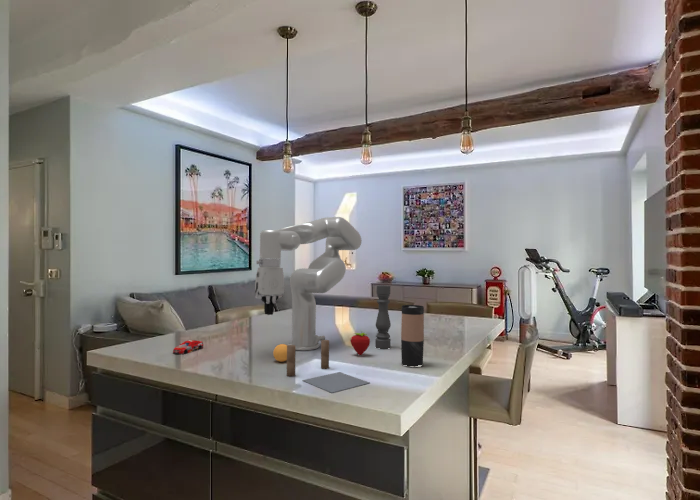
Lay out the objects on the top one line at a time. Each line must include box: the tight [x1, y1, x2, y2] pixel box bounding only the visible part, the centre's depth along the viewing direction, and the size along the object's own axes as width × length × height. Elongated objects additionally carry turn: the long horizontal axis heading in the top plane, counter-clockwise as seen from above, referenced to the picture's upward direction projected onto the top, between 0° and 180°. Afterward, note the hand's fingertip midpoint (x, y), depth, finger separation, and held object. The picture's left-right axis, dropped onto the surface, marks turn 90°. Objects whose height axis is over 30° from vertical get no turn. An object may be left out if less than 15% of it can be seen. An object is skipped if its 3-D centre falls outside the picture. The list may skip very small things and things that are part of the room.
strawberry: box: [350, 332, 371, 356], centre depth 154 cm, size 6×8×10 cm
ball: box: [272, 343, 288, 363], centre depth 144 cm, size 6×6×6 cm
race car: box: [172, 339, 204, 355], centre depth 158 cm, size 13×5×4 cm, turn 159°
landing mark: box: [302, 371, 371, 394], centre depth 121 cm, size 14×14×1 cm
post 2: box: [320, 339, 330, 370], centre depth 136 cm, size 3×3×9 cm
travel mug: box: [400, 304, 425, 366], centre depth 142 cm, size 8×8×20 cm
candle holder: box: [374, 284, 392, 350], centre depth 168 cm, size 6×6×25 cm
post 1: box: [286, 344, 296, 377], centre depth 127 cm, size 3×3×9 cm
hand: (268, 314), depth 151 cm, fingers closed
